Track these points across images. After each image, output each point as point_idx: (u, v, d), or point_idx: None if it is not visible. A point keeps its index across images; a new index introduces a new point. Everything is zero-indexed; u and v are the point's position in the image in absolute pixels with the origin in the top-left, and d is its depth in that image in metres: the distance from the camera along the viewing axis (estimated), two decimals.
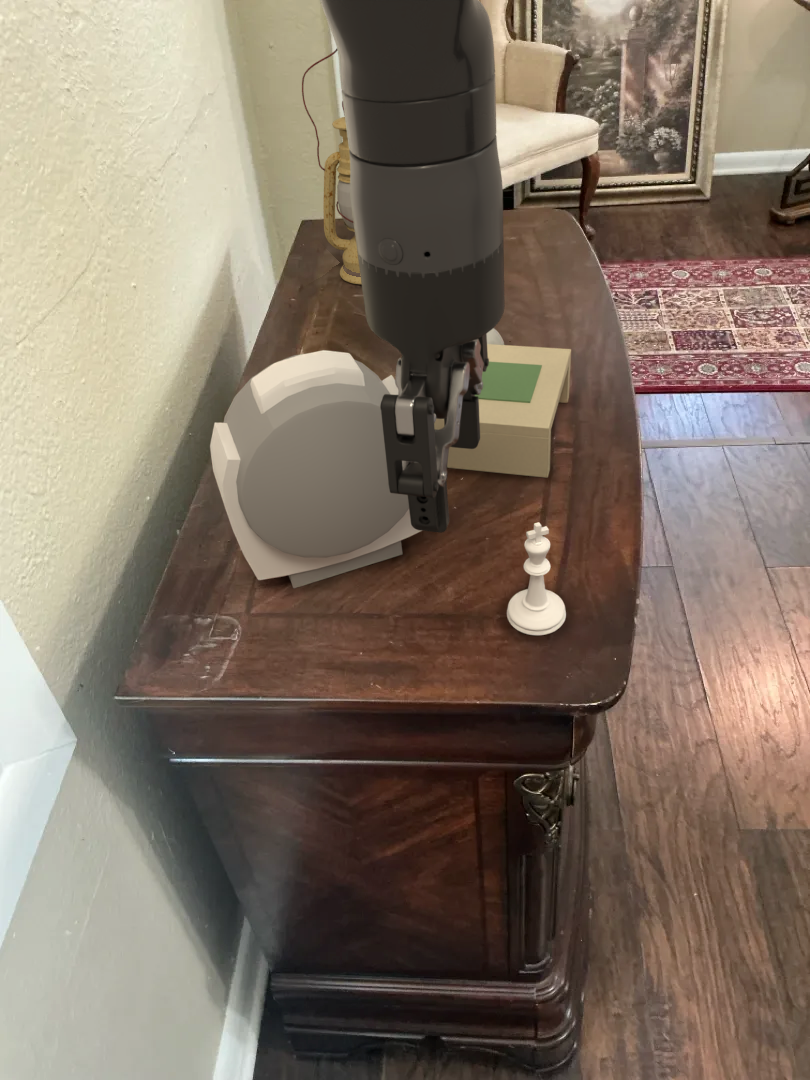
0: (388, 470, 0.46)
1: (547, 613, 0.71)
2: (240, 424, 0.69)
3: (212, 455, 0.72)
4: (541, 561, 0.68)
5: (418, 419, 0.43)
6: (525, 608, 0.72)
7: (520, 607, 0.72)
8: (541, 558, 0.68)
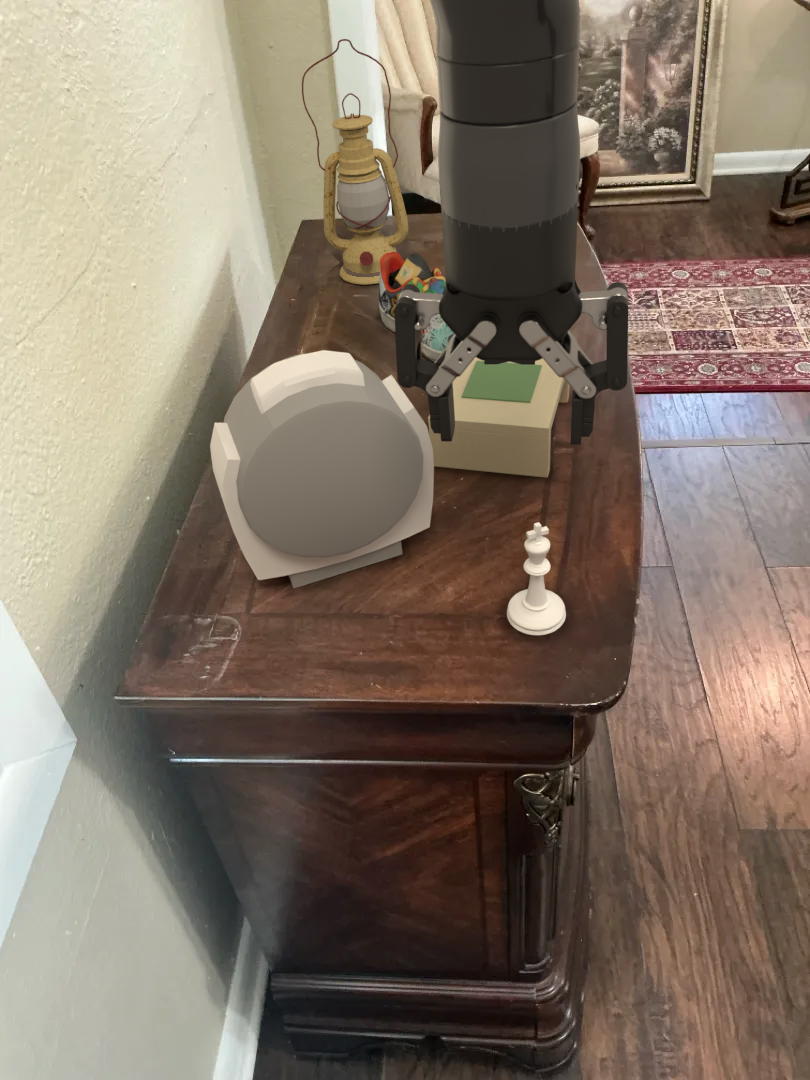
0: None
1: (547, 613, 0.71)
2: (240, 424, 0.69)
3: (212, 455, 0.72)
4: (541, 561, 0.68)
5: None
6: (525, 608, 0.72)
7: (520, 607, 0.72)
8: (541, 558, 0.68)
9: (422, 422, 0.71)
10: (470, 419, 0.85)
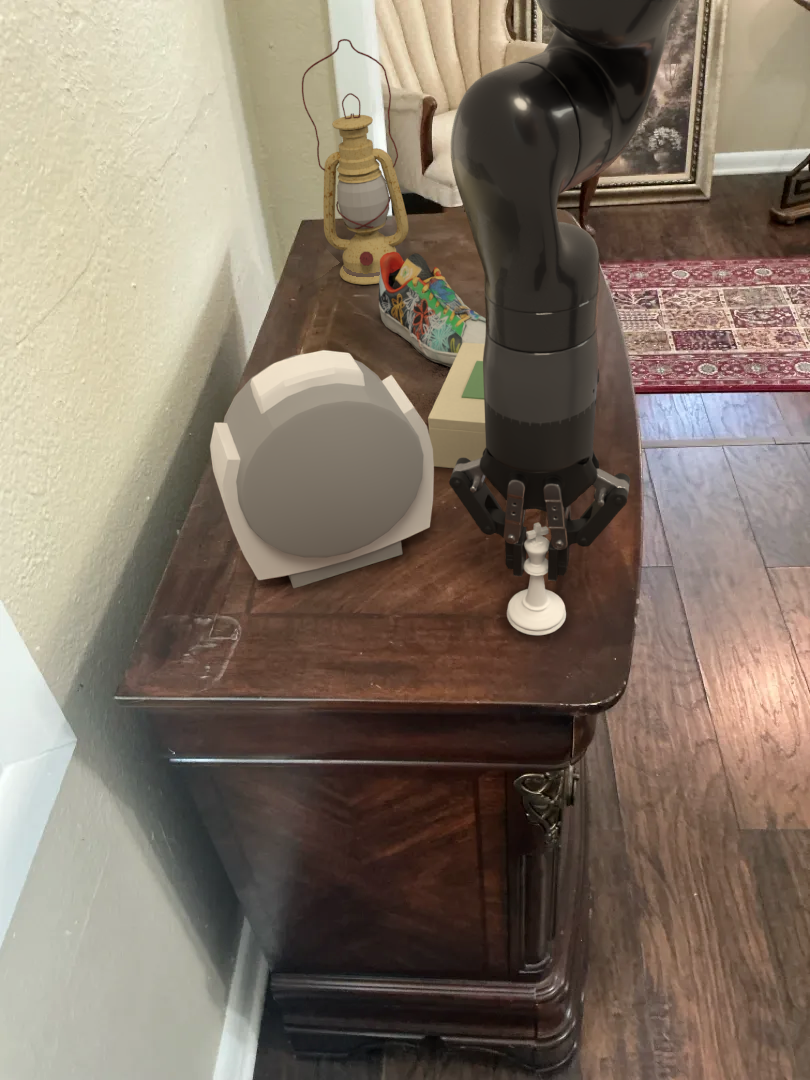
0: None
1: (547, 613, 0.71)
2: (240, 424, 0.69)
3: (212, 455, 0.72)
4: (541, 561, 0.68)
5: None
6: (525, 608, 0.72)
7: (520, 607, 0.72)
8: (541, 558, 0.68)
9: (422, 422, 0.71)
10: (470, 419, 0.85)
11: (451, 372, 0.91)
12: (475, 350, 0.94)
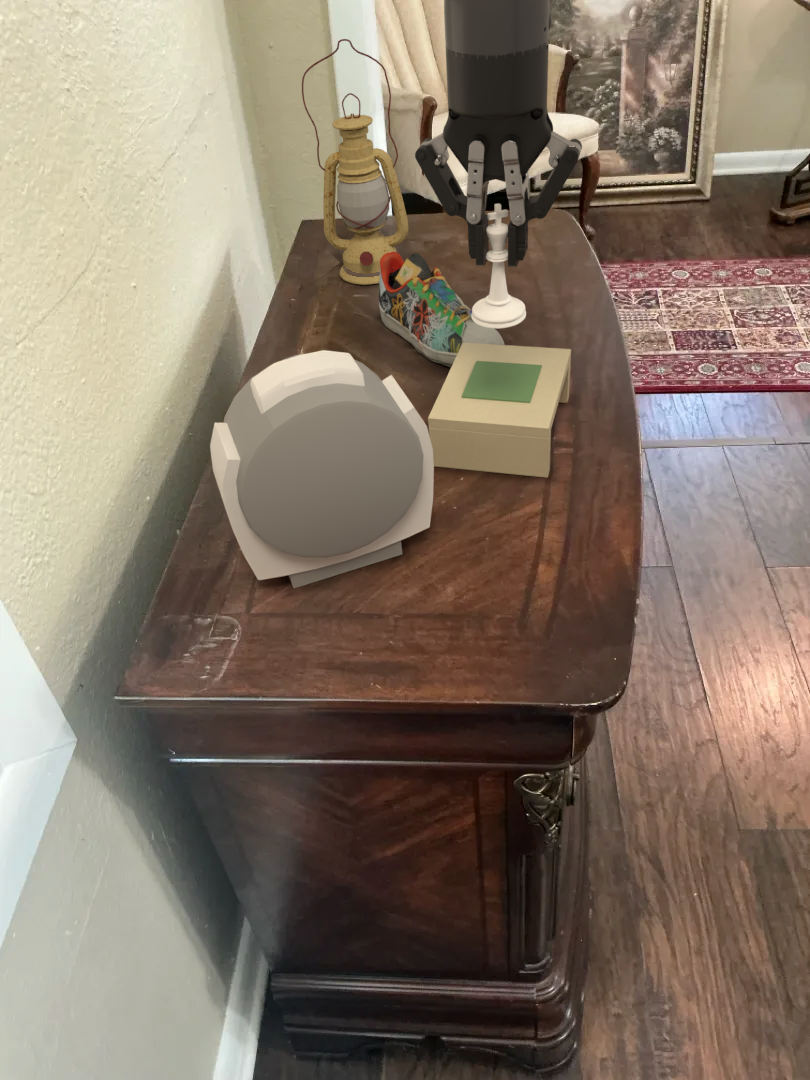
0: None
1: (508, 309, 0.76)
2: (240, 424, 0.69)
3: (212, 455, 0.72)
4: (502, 247, 0.73)
5: None
6: (488, 305, 0.77)
7: (483, 306, 0.77)
8: (501, 242, 0.73)
9: (422, 422, 0.71)
10: (470, 419, 0.85)
11: (451, 372, 0.91)
12: (475, 350, 0.94)
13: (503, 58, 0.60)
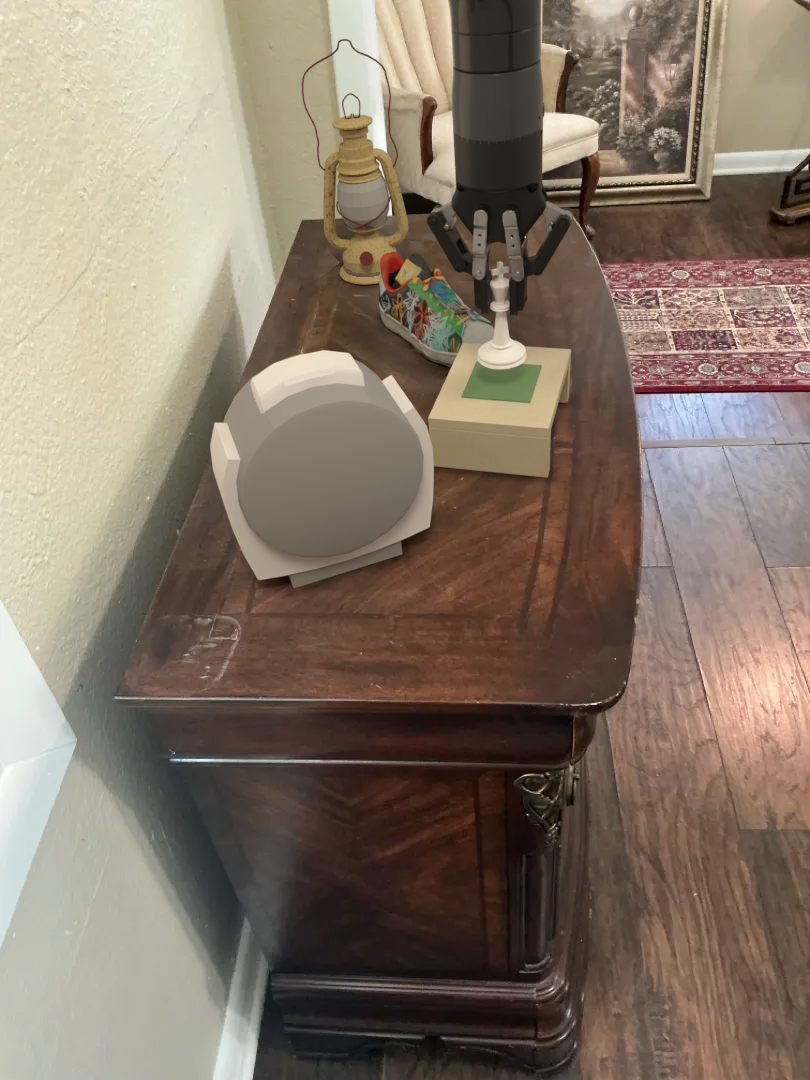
0: None
1: (510, 352, 0.85)
2: (240, 424, 0.69)
3: (212, 455, 0.72)
4: (504, 298, 0.82)
5: None
6: (492, 349, 0.86)
7: (488, 349, 0.86)
8: (503, 294, 0.82)
9: (422, 422, 0.71)
10: (470, 419, 0.85)
11: (451, 372, 0.91)
12: (475, 350, 0.94)
13: (502, 143, 0.70)
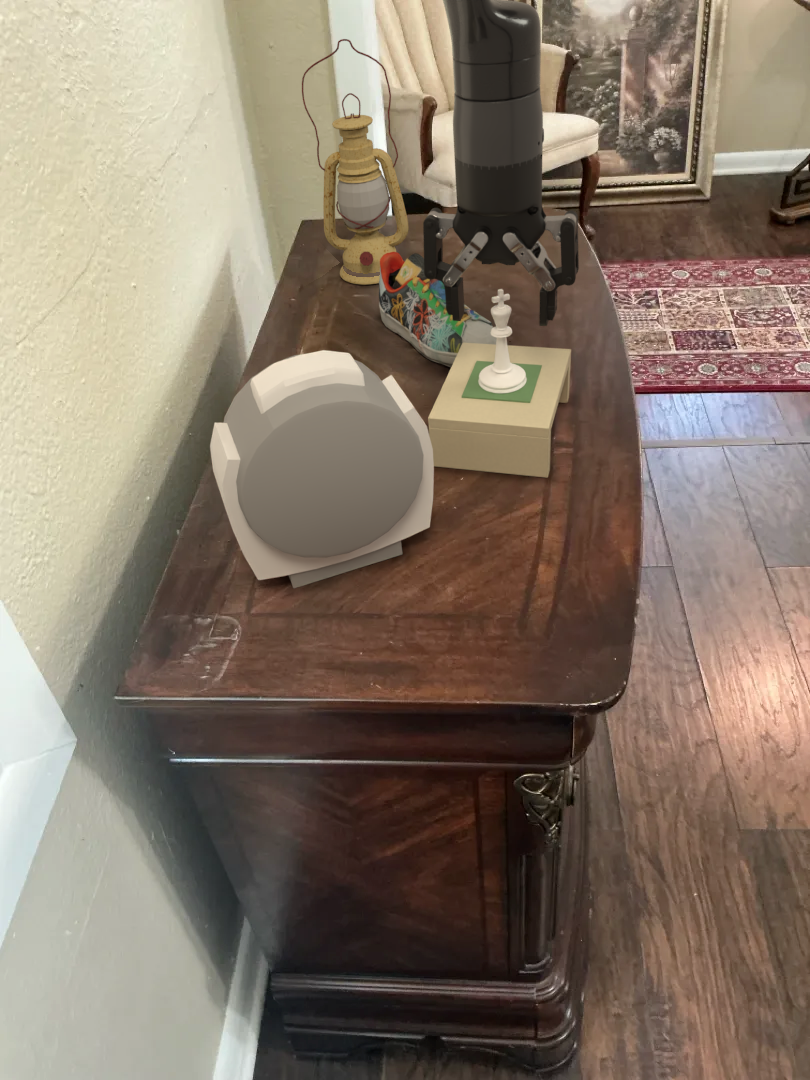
0: None
1: (511, 376, 0.87)
2: (240, 424, 0.69)
3: (212, 455, 0.72)
4: (504, 325, 0.84)
5: None
6: (493, 373, 0.88)
7: (489, 373, 0.88)
8: (504, 321, 0.84)
9: (422, 422, 0.71)
10: (470, 419, 0.85)
11: (451, 372, 0.91)
12: (475, 350, 0.94)
13: (503, 169, 0.71)
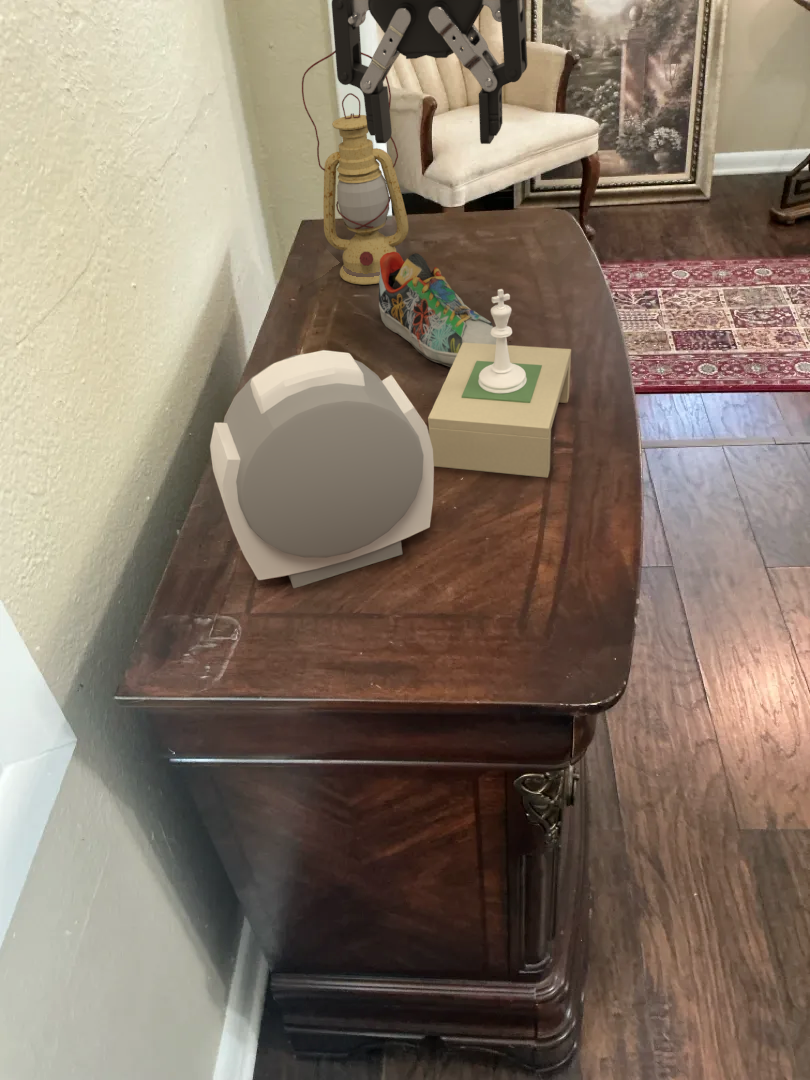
0: None
1: (511, 376, 0.87)
2: (240, 424, 0.69)
3: (212, 455, 0.72)
4: (504, 325, 0.84)
5: None
6: (493, 373, 0.88)
7: (489, 373, 0.88)
8: (504, 321, 0.84)
9: (422, 422, 0.71)
10: (470, 419, 0.85)
11: (451, 372, 0.91)
12: (475, 350, 0.94)
13: None
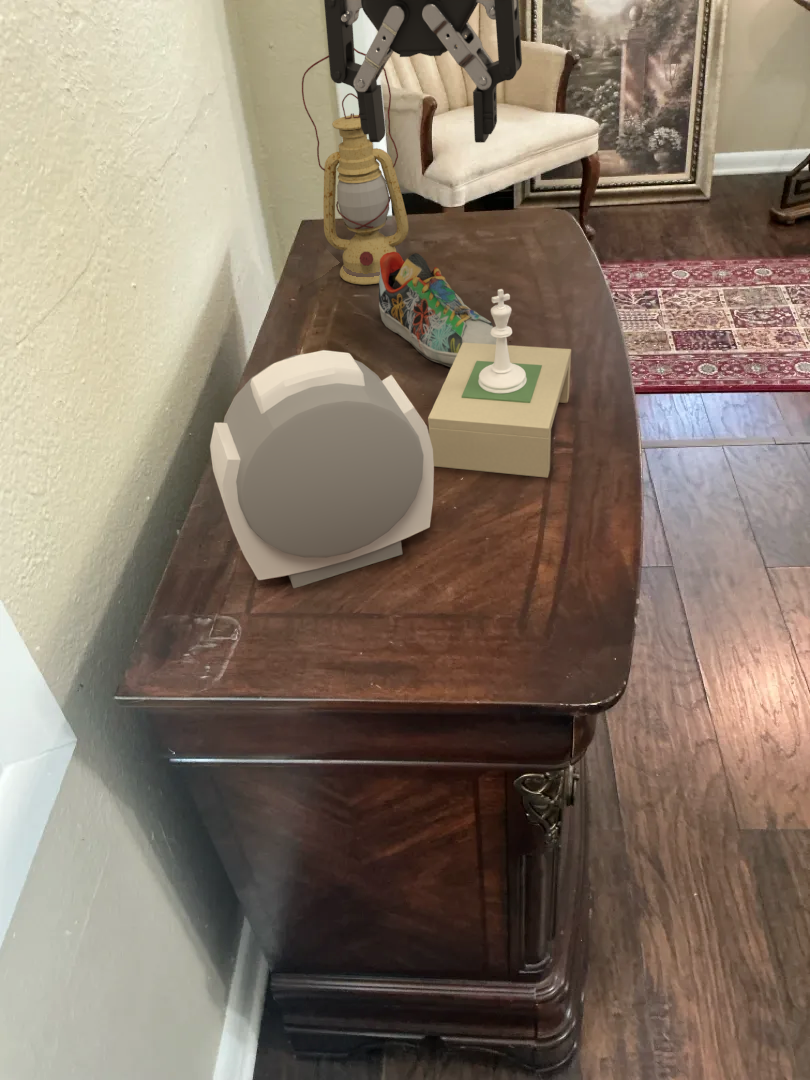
0: None
1: (511, 376, 0.87)
2: (240, 424, 0.69)
3: (212, 455, 0.72)
4: (504, 325, 0.84)
5: None
6: (493, 373, 0.88)
7: (489, 373, 0.88)
8: (504, 321, 0.84)
9: (422, 422, 0.71)
10: (470, 419, 0.85)
11: (451, 372, 0.91)
12: (475, 350, 0.94)
13: None
